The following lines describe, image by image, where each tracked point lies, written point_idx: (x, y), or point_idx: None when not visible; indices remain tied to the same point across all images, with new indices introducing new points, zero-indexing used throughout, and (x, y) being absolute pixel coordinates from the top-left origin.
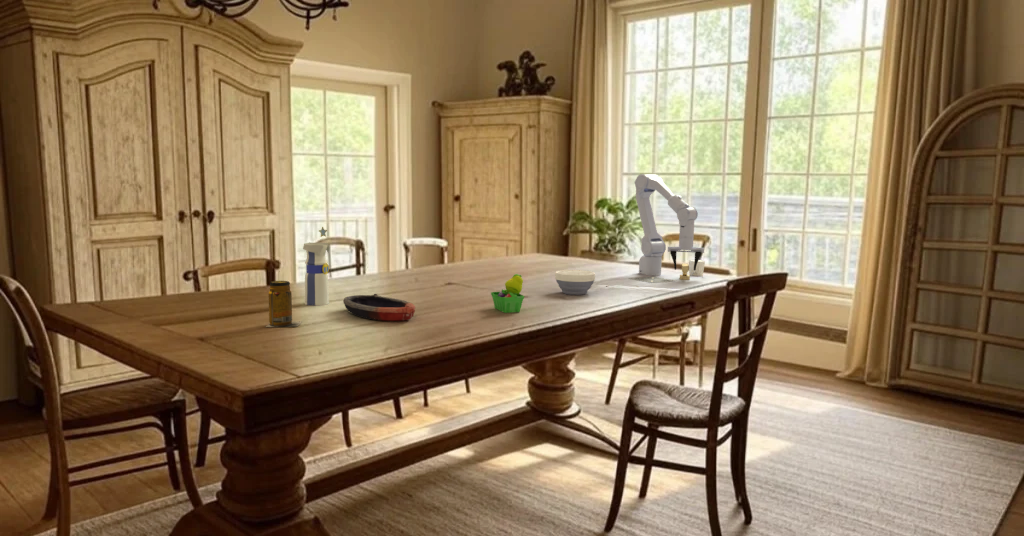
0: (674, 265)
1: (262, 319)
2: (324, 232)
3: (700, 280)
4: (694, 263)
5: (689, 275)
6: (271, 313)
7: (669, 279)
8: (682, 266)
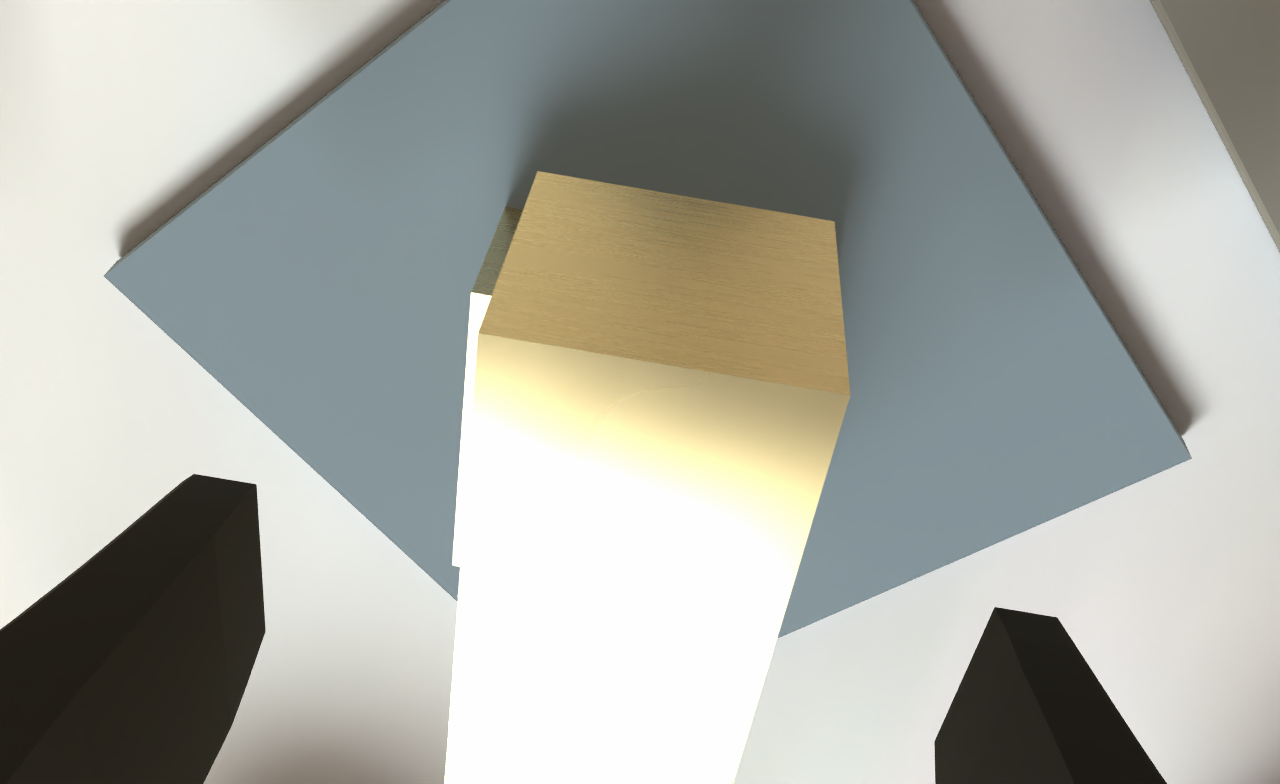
0: (1135, 743)
1: None
2: None
3: None
4: (96, 706)
5: (466, 483)
6: None
7: (1268, 173)
8: (832, 374)
